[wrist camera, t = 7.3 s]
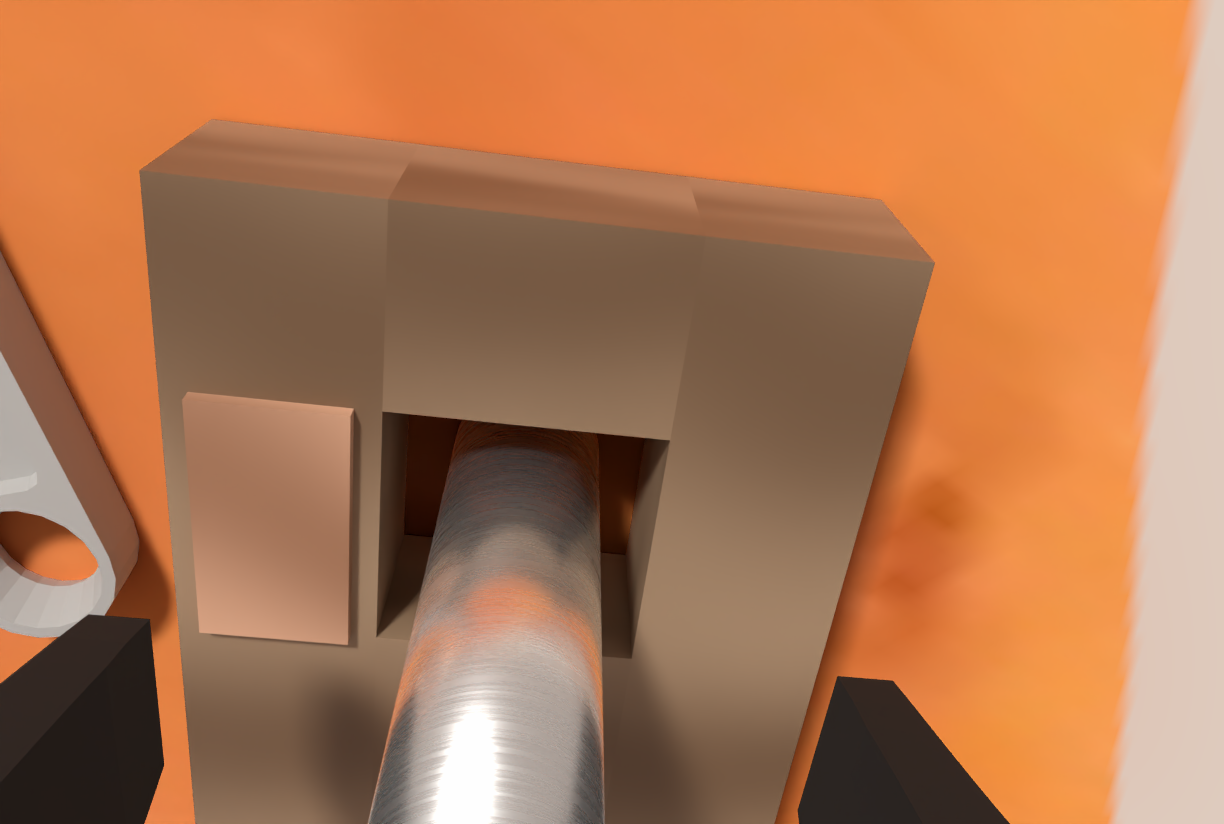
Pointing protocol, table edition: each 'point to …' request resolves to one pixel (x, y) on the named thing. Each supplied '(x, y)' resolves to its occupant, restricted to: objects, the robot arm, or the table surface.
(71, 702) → the robot arm
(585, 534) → the steel pin
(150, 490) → the table surface
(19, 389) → the adjustable wrench
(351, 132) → the table surface
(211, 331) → the dock board
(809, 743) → the table surface
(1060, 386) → the table surface
